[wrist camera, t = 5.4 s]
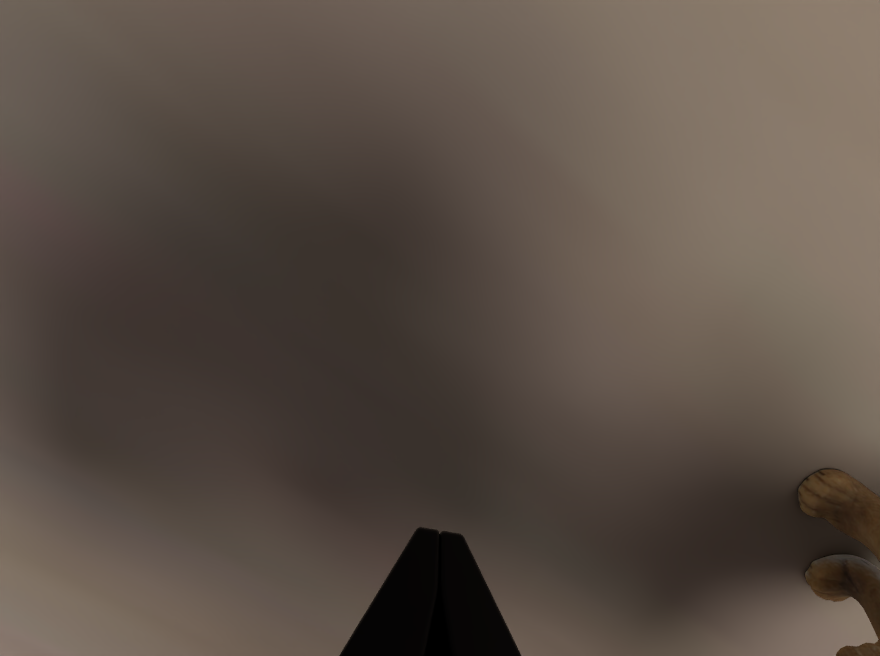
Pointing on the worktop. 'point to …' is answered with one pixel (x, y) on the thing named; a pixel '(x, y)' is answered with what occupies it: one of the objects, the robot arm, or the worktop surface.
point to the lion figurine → (846, 574)
